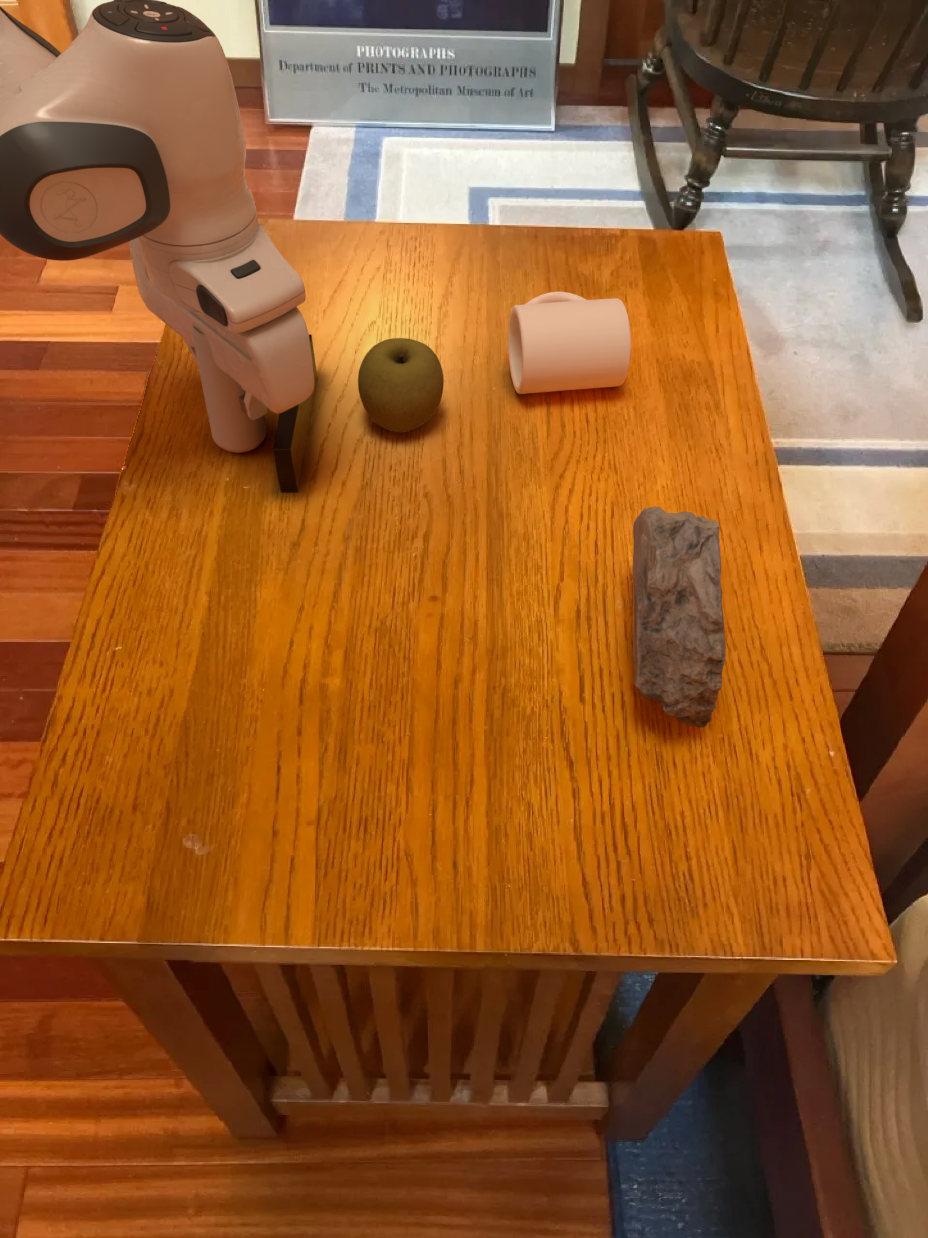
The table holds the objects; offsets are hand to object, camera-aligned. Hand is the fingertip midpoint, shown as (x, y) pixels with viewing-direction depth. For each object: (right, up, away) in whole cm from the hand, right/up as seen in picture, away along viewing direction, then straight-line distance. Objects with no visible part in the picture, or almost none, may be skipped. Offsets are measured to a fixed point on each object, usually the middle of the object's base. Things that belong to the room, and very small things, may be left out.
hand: (234, 396), depth 81 cm
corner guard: (+1, -2, +4) cm, 5 cm away
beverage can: (0, -3, +4) cm, 5 cm away
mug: (+29, +5, +11) cm, 32 cm away
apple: (+14, -1, +6) cm, 15 cm away
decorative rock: (+35, -22, -10) cm, 42 cm away
